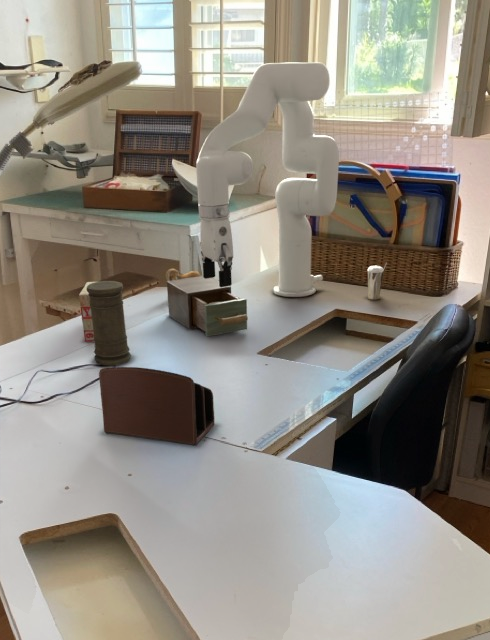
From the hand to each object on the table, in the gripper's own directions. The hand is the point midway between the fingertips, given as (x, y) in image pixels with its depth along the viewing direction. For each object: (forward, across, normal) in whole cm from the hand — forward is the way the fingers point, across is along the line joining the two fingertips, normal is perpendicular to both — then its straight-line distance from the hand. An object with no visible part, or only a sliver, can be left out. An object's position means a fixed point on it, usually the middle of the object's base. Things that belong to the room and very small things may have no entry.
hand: (217, 281), depth 209 cm
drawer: (+12, -2, +1) cm, 12 cm away
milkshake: (+14, +3, -52) cm, 53 cm away
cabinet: (+13, +11, +1) cm, 17 cm away
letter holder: (+12, -53, +38) cm, 66 cm away
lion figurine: (+13, +35, -5) cm, 38 cm away
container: (+12, -8, +33) cm, 36 cm away
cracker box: (+12, +17, +27) cm, 34 cm away
